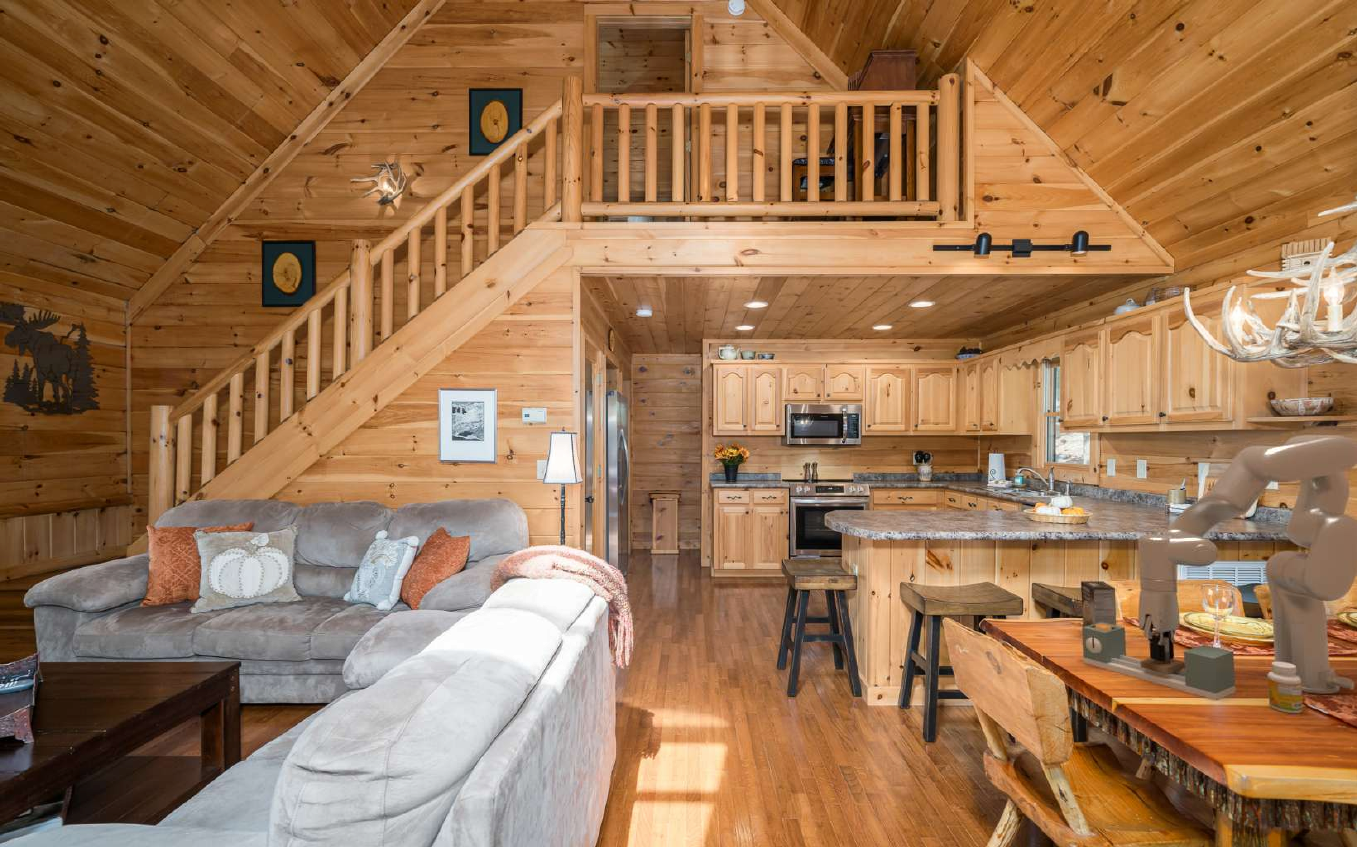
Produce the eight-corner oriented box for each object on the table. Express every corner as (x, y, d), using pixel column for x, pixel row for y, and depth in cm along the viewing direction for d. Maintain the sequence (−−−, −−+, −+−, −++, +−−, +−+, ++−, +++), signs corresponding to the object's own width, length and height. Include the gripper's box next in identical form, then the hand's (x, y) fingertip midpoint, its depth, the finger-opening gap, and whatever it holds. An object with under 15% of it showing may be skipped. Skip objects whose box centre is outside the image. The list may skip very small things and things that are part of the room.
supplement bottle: (1268, 701, 149) (1266, 658, 149) (1301, 707, 145) (1299, 663, 145) (1270, 710, 144) (1267, 665, 145) (1304, 715, 141) (1301, 670, 141)
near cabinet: (1235, 685, 155) (1233, 651, 155) (1215, 693, 151) (1213, 658, 151) (1201, 676, 161) (1199, 643, 161) (1181, 684, 157) (1180, 650, 157)
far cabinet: (1126, 657, 176) (1124, 627, 176) (1105, 663, 172) (1104, 633, 172) (1103, 651, 181) (1101, 622, 181) (1082, 657, 177) (1080, 627, 177)
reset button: (1114, 637, 176) (1114, 625, 176) (1106, 640, 174) (1106, 628, 174) (1100, 634, 179) (1100, 622, 179) (1093, 636, 177) (1092, 624, 177)
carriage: (1184, 667, 163) (1183, 637, 164) (1167, 674, 160) (1165, 643, 160) (1158, 661, 169) (1156, 631, 169) (1140, 667, 165) (1139, 637, 165)
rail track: (1235, 691, 155) (1234, 681, 155) (1216, 700, 150) (1215, 689, 151) (1103, 656, 181) (1102, 647, 181) (1083, 662, 177) (1083, 653, 177)
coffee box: (1082, 632, 203) (1079, 580, 203) (1105, 633, 201) (1102, 580, 202) (1094, 642, 194) (1092, 587, 194) (1118, 642, 192) (1116, 587, 193)
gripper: (1160, 577, 172) (1163, 648, 171) (1123, 586, 164) (1127, 660, 164) (1193, 583, 165) (1197, 656, 165) (1156, 592, 158) (1160, 669, 157)
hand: (1162, 657), depth 164 cm, fingers closed on carriage, 3 cm apart
